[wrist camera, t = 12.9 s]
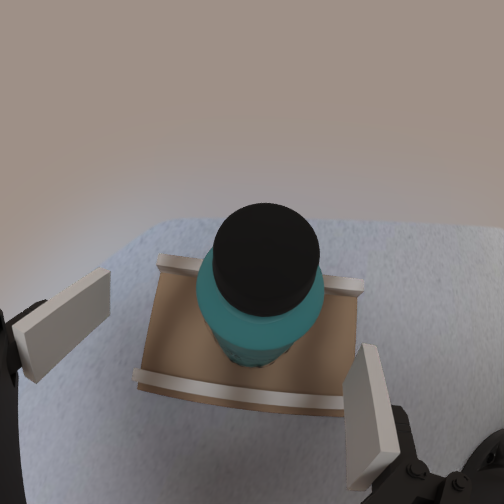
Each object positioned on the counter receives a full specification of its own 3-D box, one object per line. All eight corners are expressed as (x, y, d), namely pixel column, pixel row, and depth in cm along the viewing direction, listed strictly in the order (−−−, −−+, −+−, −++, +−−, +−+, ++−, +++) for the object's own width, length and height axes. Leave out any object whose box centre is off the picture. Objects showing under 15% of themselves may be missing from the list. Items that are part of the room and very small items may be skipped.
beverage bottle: (242, 291, 31) (237, 145, 13) (301, 326, 30) (382, 221, 12) (203, 346, 29) (134, 267, 11) (264, 385, 28) (301, 375, 9)
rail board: (352, 283, 33) (363, 271, 30) (344, 415, 28) (356, 418, 24) (168, 260, 34) (160, 245, 31) (141, 389, 28) (130, 388, 25)
